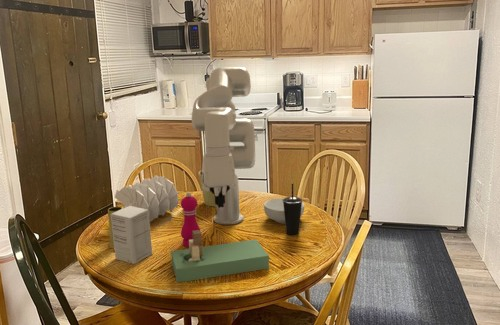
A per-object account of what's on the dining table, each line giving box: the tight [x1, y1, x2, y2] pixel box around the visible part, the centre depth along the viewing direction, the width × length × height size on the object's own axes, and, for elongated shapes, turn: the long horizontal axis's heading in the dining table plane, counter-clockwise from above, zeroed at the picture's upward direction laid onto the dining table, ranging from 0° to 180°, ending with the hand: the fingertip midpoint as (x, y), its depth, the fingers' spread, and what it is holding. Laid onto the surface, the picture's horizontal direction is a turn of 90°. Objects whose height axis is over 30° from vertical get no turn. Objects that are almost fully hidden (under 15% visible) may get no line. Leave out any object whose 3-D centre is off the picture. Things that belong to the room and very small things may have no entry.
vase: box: [107, 206, 123, 249], centre depth 173 cm, size 6×6×14 cm
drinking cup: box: [283, 183, 304, 237], centre depth 179 cm, size 8×8×20 cm
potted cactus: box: [198, 150, 217, 207], centre depth 216 cm, size 15×15×30 cm
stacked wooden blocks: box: [188, 229, 203, 261], centre depth 152 cm, size 8×3×8 cm, turn 16°
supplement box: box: [111, 206, 153, 265], centre depth 162 cm, size 10×9×17 cm
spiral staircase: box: [114, 174, 180, 223], centre depth 199 cm, size 18×18×25 cm
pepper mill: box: [180, 192, 201, 248], centre depth 171 cm, size 7×7×20 cm
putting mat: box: [170, 239, 270, 284], centre depth 155 cm, size 14×30×4 cm, turn 106°
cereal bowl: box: [263, 197, 305, 224], centre depth 195 cm, size 17×17×7 cm
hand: (220, 206), depth 152 cm, fingers closed
